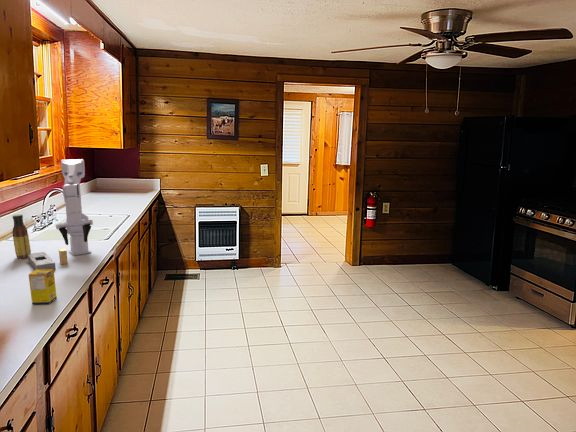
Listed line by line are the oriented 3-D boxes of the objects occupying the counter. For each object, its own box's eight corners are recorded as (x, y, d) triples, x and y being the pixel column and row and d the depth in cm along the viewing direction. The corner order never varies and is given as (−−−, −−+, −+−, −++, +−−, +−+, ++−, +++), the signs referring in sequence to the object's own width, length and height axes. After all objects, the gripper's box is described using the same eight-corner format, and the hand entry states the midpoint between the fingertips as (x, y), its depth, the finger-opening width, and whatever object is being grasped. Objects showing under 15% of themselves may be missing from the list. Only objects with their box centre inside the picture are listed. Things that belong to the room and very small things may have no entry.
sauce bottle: (27, 254, 229) (23, 213, 225) (33, 256, 225) (29, 214, 221) (13, 257, 224) (7, 215, 220) (18, 259, 220) (13, 216, 216)
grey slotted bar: (27, 260, 218) (27, 254, 218) (44, 258, 223) (44, 251, 222) (37, 272, 201) (36, 265, 201) (55, 269, 205) (55, 262, 205)
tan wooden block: (59, 262, 215) (58, 249, 214) (65, 261, 217) (64, 248, 216) (61, 264, 212) (60, 251, 211) (67, 263, 214) (66, 250, 213)
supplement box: (57, 298, 172) (54, 268, 170) (49, 304, 166) (46, 273, 164) (39, 298, 172) (36, 268, 169) (31, 304, 166) (28, 274, 164)
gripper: (57, 215, 201) (60, 247, 203) (93, 211, 209) (96, 242, 212) (53, 213, 206) (56, 244, 209) (88, 209, 215) (91, 239, 217)
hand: (76, 243), depth 211 cm, fingers open, 7 cm apart
